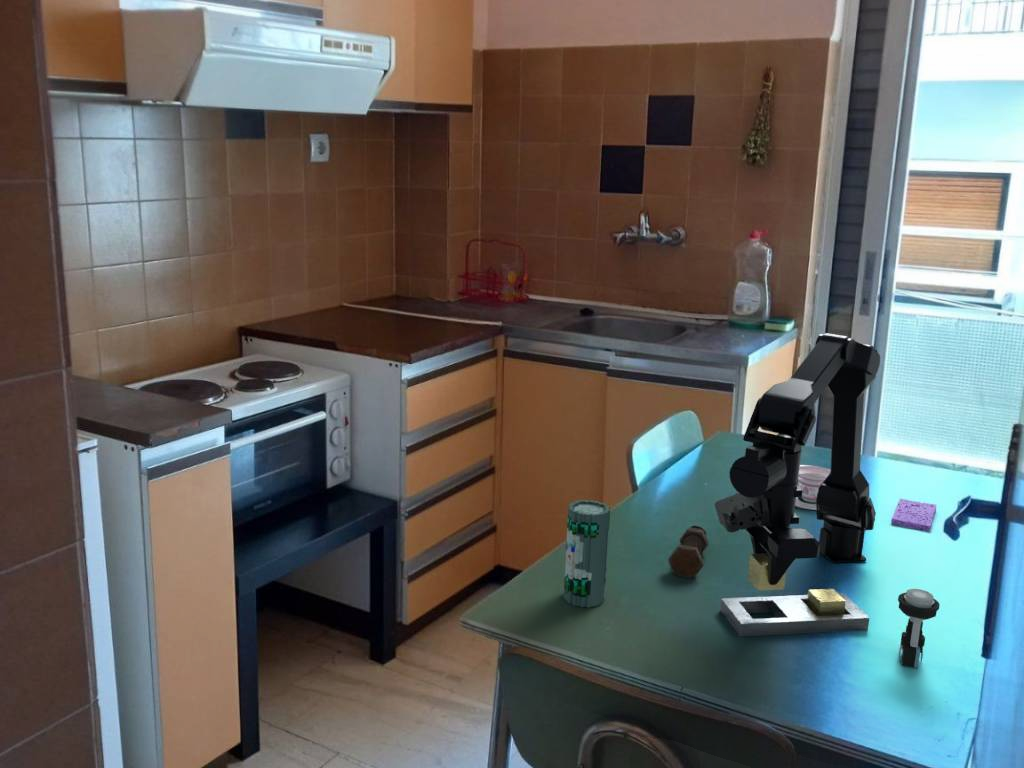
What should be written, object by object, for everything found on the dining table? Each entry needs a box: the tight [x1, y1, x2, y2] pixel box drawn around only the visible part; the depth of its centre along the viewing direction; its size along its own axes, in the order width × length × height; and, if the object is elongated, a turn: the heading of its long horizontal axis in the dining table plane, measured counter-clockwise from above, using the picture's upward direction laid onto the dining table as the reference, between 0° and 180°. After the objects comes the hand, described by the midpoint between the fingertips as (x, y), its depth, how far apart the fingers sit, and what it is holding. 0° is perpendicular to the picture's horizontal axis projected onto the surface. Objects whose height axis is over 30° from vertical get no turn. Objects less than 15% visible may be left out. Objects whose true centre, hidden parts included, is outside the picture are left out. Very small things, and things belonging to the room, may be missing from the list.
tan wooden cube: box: [807, 588, 846, 616], centre depth 149 cm, size 4×4×4 cm
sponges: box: [890, 498, 937, 532], centre depth 192 cm, size 7×13×2 cm, turn 153°
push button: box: [897, 588, 941, 669], centre depth 138 cm, size 7×5×10 cm
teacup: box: [795, 464, 831, 511], centre depth 199 cm, size 12×12×6 cm
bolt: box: [668, 525, 710, 579], centre depth 169 cm, size 6×5×15 cm
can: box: [563, 499, 611, 609], centre depth 152 cm, size 6×6×15 cm
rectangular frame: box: [719, 593, 870, 637], centre depth 149 cm, size 20×8×2 cm, turn 99°
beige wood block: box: [747, 553, 787, 591], centre depth 146 cm, size 4×4×4 cm
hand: (766, 577), depth 146 cm, fingers closed on beige wood block, 4 cm apart
